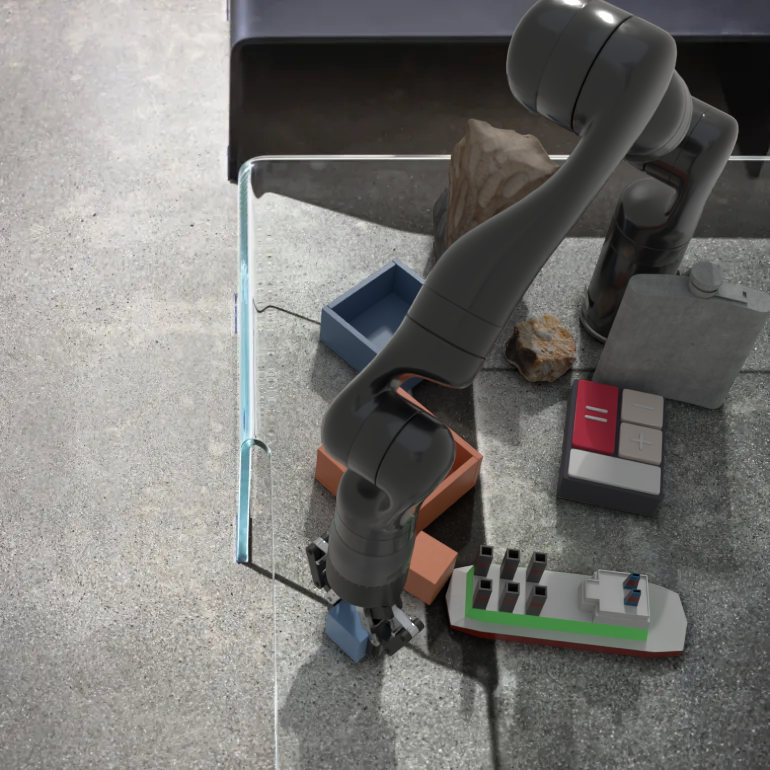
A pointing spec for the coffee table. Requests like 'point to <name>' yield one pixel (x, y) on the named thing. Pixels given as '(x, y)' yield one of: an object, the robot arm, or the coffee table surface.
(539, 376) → the rock
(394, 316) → the blue bin
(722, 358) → the hip flask
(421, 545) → the terracotta block
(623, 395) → the calculator
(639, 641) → the toy boat
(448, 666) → the coffee table surface
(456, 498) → the terracotta bin
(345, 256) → the coffee table surface
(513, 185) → the tall brown boulder
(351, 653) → the blue block
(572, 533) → the coffee table surface
